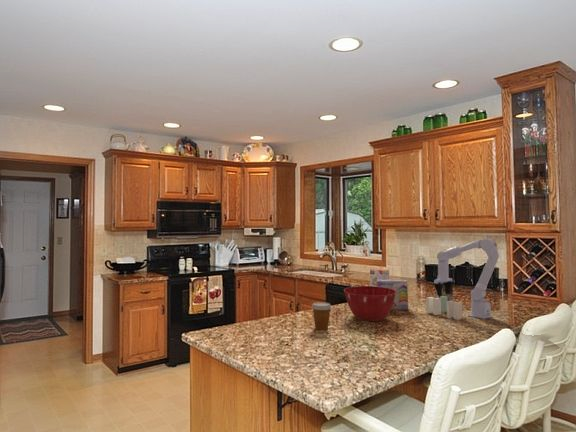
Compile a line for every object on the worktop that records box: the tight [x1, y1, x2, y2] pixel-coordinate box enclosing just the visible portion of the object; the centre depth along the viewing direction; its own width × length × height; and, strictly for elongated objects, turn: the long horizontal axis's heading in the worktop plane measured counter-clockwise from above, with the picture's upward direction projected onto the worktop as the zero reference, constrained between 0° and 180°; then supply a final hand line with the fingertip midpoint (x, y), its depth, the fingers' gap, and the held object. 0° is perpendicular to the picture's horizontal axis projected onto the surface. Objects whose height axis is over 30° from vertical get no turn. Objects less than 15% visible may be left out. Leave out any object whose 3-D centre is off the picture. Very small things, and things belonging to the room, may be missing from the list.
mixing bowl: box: [343, 285, 397, 322], centre depth 220 cm, size 28×28×16 cm
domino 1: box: [425, 296, 435, 315], centre depth 233 cm, size 2×5×9 cm, turn 123°
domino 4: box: [446, 299, 456, 319], centre depth 221 cm, size 2×5×9 cm, turn 122°
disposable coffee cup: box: [311, 301, 332, 331], centre depth 199 cm, size 10×10×12 cm
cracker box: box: [369, 267, 390, 287], centre depth 273 cm, size 14×6×21 cm, turn 25°
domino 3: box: [440, 296, 447, 314], centre depth 235 cm, size 2×5×9 cm, turn 123°
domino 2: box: [432, 297, 442, 316], centre depth 229 cm, size 2×5×9 cm, turn 123°
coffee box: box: [435, 277, 454, 301], centre depth 258 cm, size 9×6×16 cm
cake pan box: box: [377, 279, 409, 311], centre depth 243 cm, size 19×5×18 cm, turn 76°
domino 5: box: [453, 301, 463, 321], centre depth 217 cm, size 2×5×9 cm, turn 123°
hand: (443, 294), depth 235 cm, fingers open, 7 cm apart
